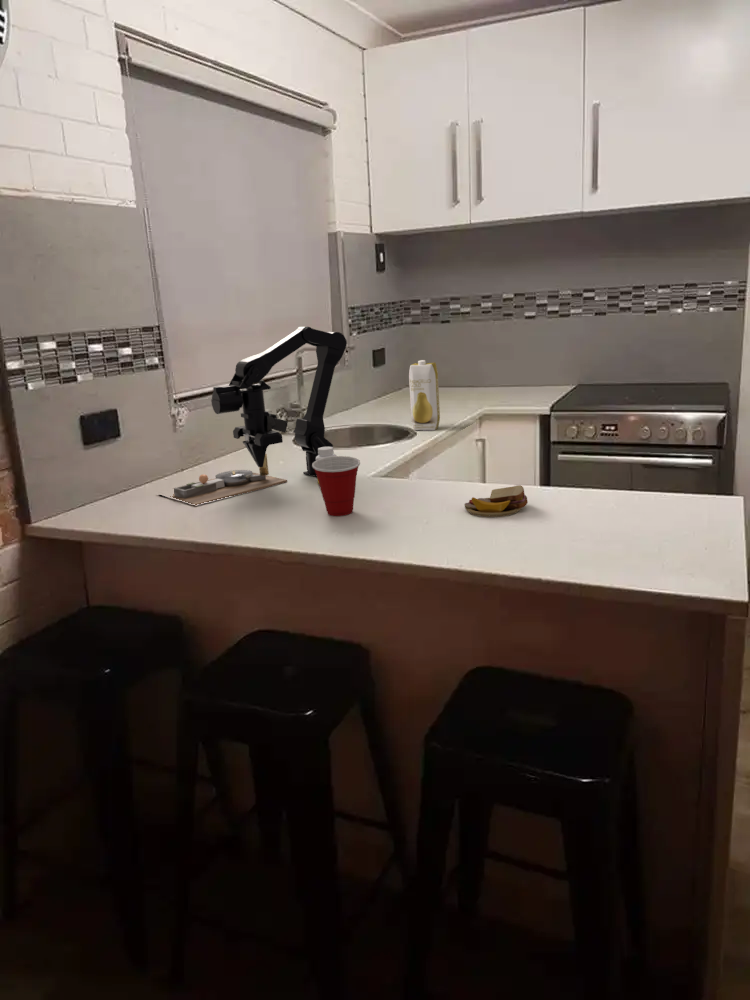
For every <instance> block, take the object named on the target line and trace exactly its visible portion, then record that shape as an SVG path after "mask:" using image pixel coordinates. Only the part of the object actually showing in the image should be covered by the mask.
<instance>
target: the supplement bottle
mask: <svg viewBox="0 0 750 1000" xmlns="http://www.w3.org/2000/svg"><path fill="white" fill-rule="evenodd" d="M334 451H335V450H334V446H333V447H321V448H318V456H316V460H319V459H322V458H327V457H335V456H337V454H335V453H334ZM316 478H317V477H316ZM317 485H318V488H320V484H319V481H318V478H317Z"/></svg>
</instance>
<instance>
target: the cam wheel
mask: <svg viewBox="0 0 750 1000" xmlns="http://www.w3.org/2000/svg"><path fill="white" fill-rule="evenodd" d="M267 455H268V454H267V453H266V454H265V459H264V464H263V467H258V469H259V473H258V474H259V475H253V473H254V472H253V471H252V470H250V469H249V470H248V469H235V470H226V471H223V472H219V473H217V474H216V475H215V478H216V479H222V480H224V486H237V485H242V484H246V483H248V482H250V481H255V480H264V479H266V476H265V475H267V476H269V475H270V474H269V473H270V472H269V464H268V456H267Z"/></svg>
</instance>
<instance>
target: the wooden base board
mask: <svg viewBox="0 0 750 1000" xmlns="http://www.w3.org/2000/svg"><path fill="white" fill-rule="evenodd" d="M259 474H260V473H259V472H258V473H257V472H253V475H259ZM265 476H266V479H264V480H255V481H250V482H248V483H246V484H242V485H237V486H225V487H221V488H217V489H216V483H211V484H207V485H198V486H195V488H192V487H191V485H193V484H197V483H201V482H200V481H198V482H194V481H193V482H188V483H185V485H182V486H177V487H173V489H174V494H173V496H172V497H173V498H176V499H179V500H182V501H185V502H188V503H191V504H195V505H197V504H201V503H204V502H209V501H213V500H217V499H221V498H225V497H229V496H233V497H235V496H234V495H237V496H239V495H238V494H241V495H243V494H242V493H245V494H248V493H252V492H255V491H259V490H262V489H268V488H271V487H274V486H278V485H281V484H286V483H288V479H285V478H280V477H277V476H271V475H265ZM214 479H216V477H215V478H211V479H208V481H209V480H214ZM251 491H252V492H251ZM247 492H248V493H247ZM170 497H171V496H170Z"/></svg>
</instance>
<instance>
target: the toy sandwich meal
mask: <svg viewBox="0 0 750 1000" xmlns="http://www.w3.org/2000/svg"><path fill="white" fill-rule="evenodd" d="M528 502H529V501H528V497H527V495H526V494H525V488H524V486H523V485H520V484H519V485H514V486H507V487H501V488H495V489H492V490H491V492H490V495H489V497H484V498H483V497H479V498H476V497H474V496H473V497H471V499H469V501H468V502H465V503H464V509H465V510H466V511H467V512H469V514H471V515H474V516H477V517H486V518H495V517H496V518H498V517H505V516H507V517H508V516H511V515H514V514H516V513H518V512H519V511H520V510H521V509H522V508H524V507H526V506H527V505H528Z"/></svg>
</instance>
